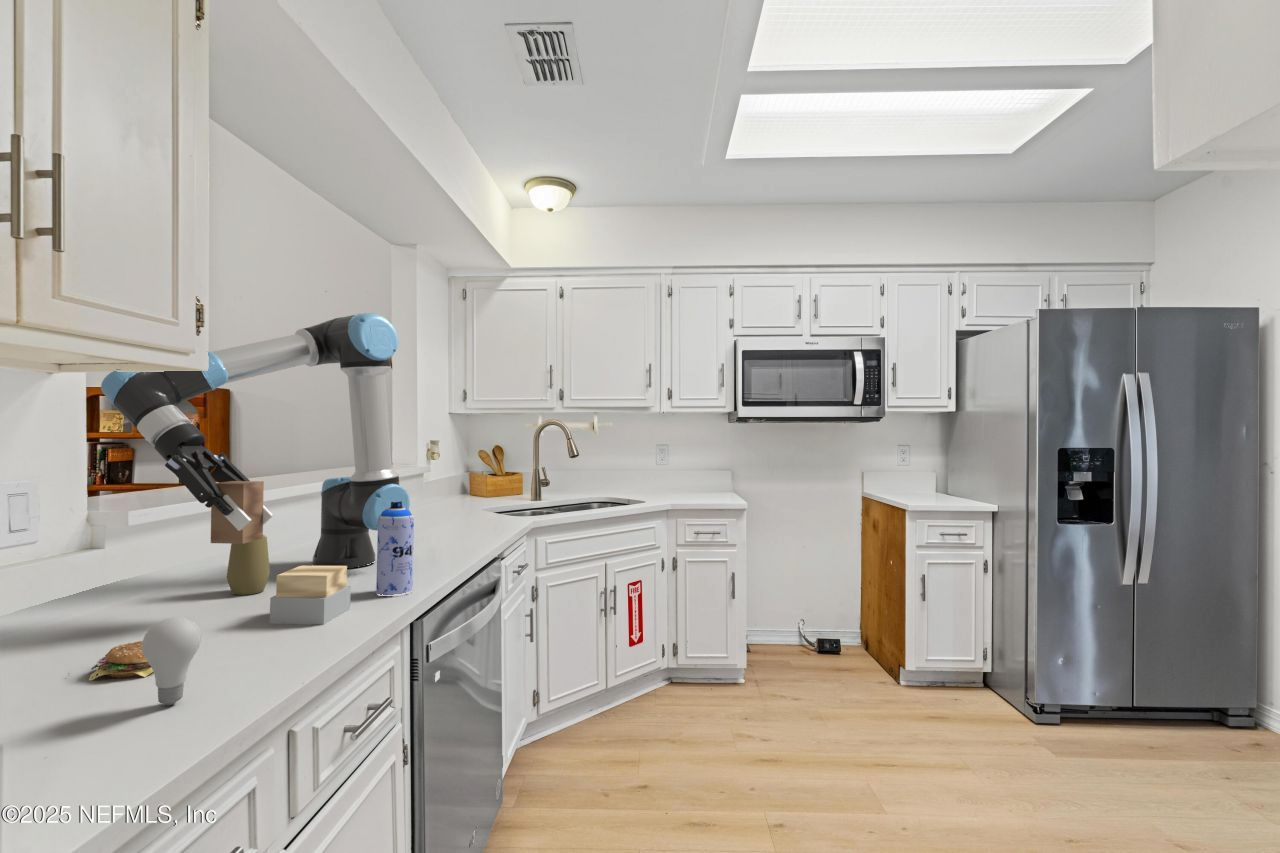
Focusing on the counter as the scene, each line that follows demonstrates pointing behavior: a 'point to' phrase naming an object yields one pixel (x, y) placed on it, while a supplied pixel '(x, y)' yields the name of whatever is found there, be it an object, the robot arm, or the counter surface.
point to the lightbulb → (171, 655)
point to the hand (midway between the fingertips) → (256, 522)
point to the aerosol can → (395, 550)
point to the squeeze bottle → (248, 567)
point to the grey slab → (309, 608)
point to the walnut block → (249, 501)
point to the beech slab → (311, 581)
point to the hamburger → (123, 662)
